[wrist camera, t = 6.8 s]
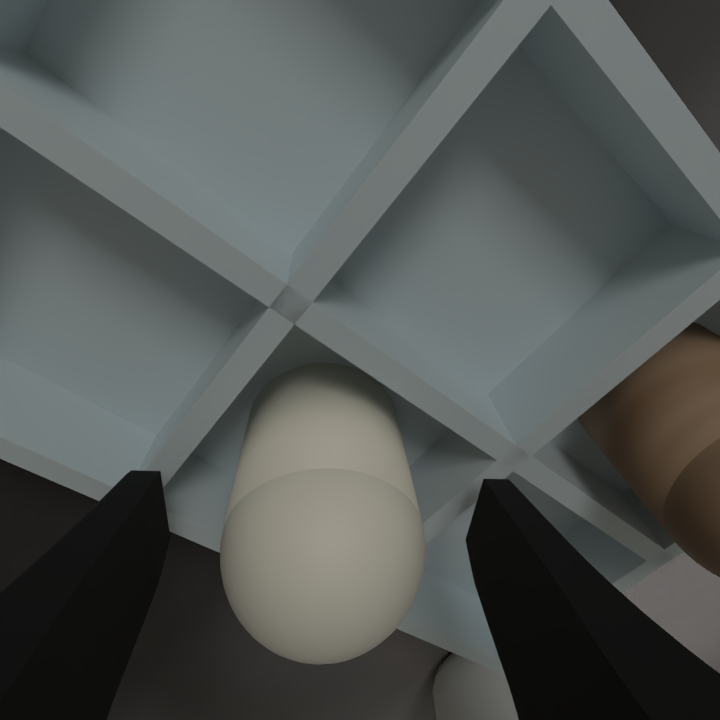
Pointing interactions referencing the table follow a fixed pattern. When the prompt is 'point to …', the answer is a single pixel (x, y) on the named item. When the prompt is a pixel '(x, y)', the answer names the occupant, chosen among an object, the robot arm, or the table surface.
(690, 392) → the walnut egg
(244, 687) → the table surface
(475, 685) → the milk bottle
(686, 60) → the table surface
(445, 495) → the egg carton
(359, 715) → the table surface
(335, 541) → the cream egg
